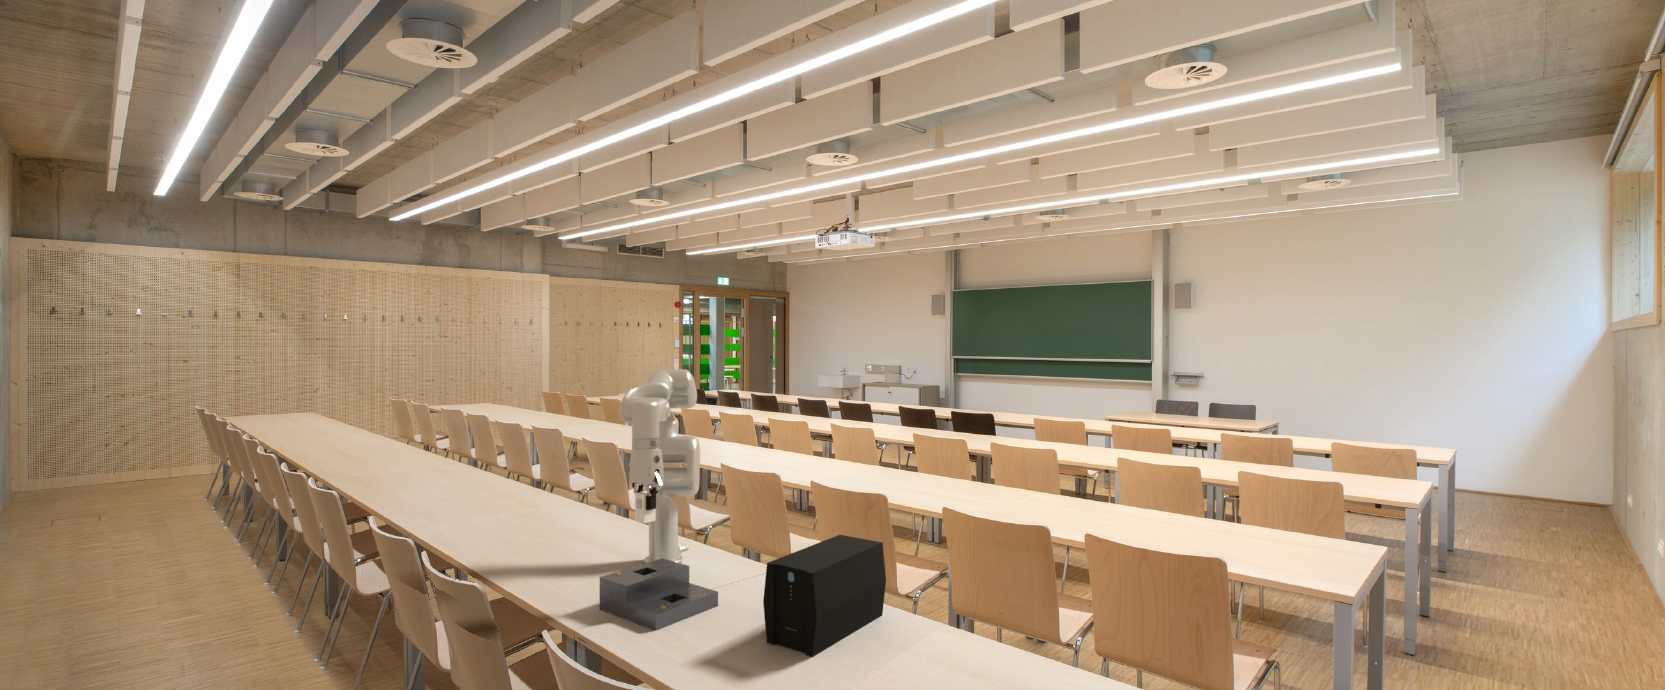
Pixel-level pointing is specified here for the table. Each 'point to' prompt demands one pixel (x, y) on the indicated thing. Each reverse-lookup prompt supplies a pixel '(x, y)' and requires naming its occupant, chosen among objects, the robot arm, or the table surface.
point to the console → (654, 594)
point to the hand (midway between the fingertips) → (645, 507)
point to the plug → (643, 509)
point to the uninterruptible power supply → (823, 593)
